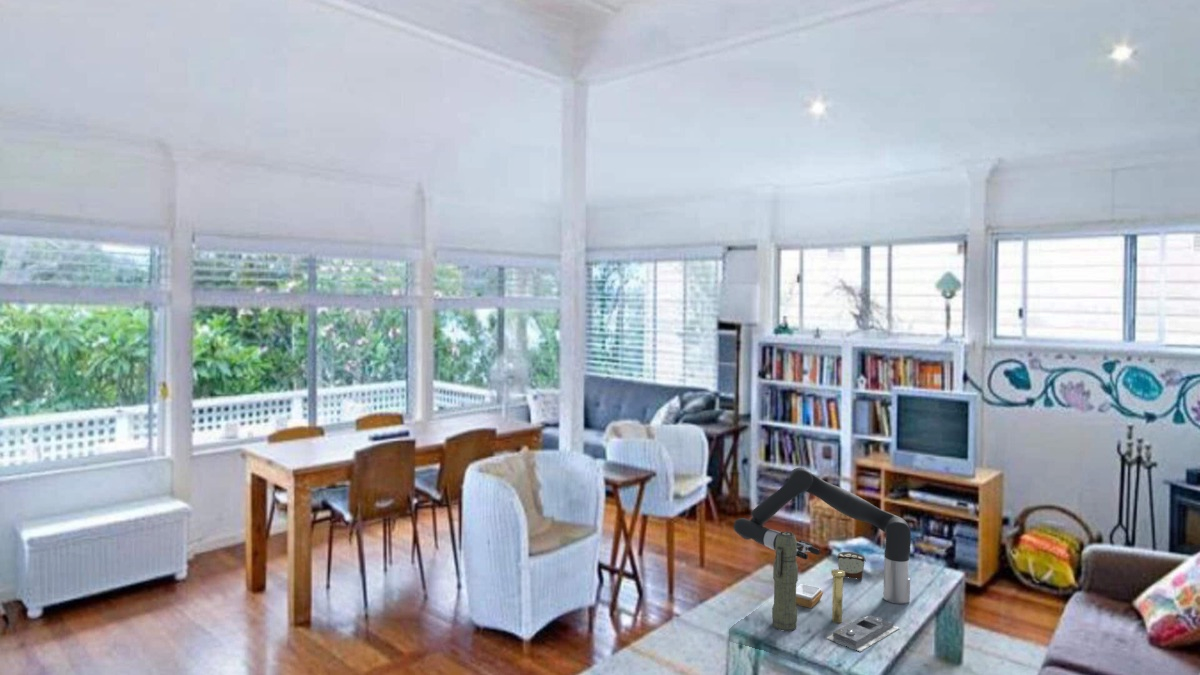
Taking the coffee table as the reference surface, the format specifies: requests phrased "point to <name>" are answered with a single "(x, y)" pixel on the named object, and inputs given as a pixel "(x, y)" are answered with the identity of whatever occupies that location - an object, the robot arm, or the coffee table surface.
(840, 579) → the brass pin
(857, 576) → the food container
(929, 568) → the coffee table surface
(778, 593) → the thermos
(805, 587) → the soap dish
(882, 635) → the bolted mounting plate
